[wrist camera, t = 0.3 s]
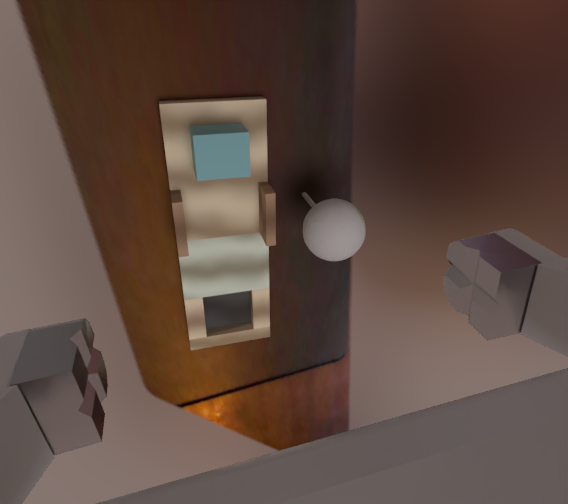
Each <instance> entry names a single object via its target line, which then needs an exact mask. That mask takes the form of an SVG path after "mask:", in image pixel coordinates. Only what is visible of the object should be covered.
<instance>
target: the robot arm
mask: <svg viewBox="0 0 568 504" xmlns="http://www.w3.org/2000/svg"><path fill="white" fill-rule="evenodd" d="M447 259H448V261H449V263H450V264H451V266H450V267H449V269H448V270H447V271H446V273H445V274H444V284H443V287H444V291H445V295H446V298H447V300H448V301H449V303H450V305H451V306H452V307H453V308H454V309H455V310H456V311H458V312H461V313H463V314H466V315H469V324H471V325H472V326H473V327H474V328H475V329H476V330H477V331H478V332H479V333H480V334H481V335H482V336H483V337H484V338H485V339H486V340H492V339H496V338H500V337H505V336H509V335H513V334H518V333H521V335H523V336H525V337H527V338H529V339H531V340H533V341H536V342H538V343H540V344H542V345H544V346H546V347H548V348H550V349H553V350H555V351H557V352H559V353H561V354H563V355H566V356H568V258H562V257H560V256H559V255H557V254H555V253H554V252H552V251H550V250H548V249H547V248H545V247H543V246H542V245H540V244H539V243H537V242H535V241H533V240H532V239H530V238H529V237H526V236H525V235H523V234H522V233H520V232H518V231H517V230H514V229H504V230H500V231H496V232H492V233H489V234H485V235H481V236H477V237H472V238H468V239H464V240H460V241H455V242H451V244H450V246H449V247H448V251H447ZM93 341H94V333H93V330H92V328H91V326H90V323H89V321H88V320H86V319H80V320H75V321H70V322H64V323H59V324H54V325H48V326H43V327H38V328H33V329H27V330H22V331H17V332H13V333H8V334H5V335H3V336H1V337H0V504H22V503H23V502H24V500H25V499H26V497H27V496H28V495H29V493H30V492H31V490H32V489H33V487H34V486H35V485H36V483H37V482H38V481H39V479H40V478H41V476H42V475H43V473H44V472H45V471H46V469H47V468H48V466H49V465H50V464H51V462H52V461H53V459H54V458H55V457H54V455H57V454H61V453H64V452H67V451H71V450H74V449H78V448H81V447H85V446H88V445H92V444H95V443H98V442H102V434H103V426H104V417H105V413H104V411H103V408H102V405H101V403H102V401H103V400H104V399H105V398H106V397H107V386H108V385H107V373H106V368H105V363H104V360H103V357H102V354H101V352H100V351H99V350H97V349H95V348H94V347H93ZM96 504H568V368H567V369H563V370H560V371H556V372H553V373H549V374H546V375H542V376H539V377H535V378H532V379H528V380H525V381H521V382H518V383H514V384H510V385H507V386H503V387H500V388H496V389H493V390H489V391H486V392H483V393H479V394H475V395H472V396H468V397H465V398H461V399H458V400H454V401H451V402H447V403H444V404H440V405H437V406H433V407H430V408H426V409H423V410H419V411H416V412H412V413H409V414H406V415H402V416H399V417H395V418H392V419H388V420H385V421H381V422H378V423H374V424H371V425H368V426H364V427H360V428H357V429H353V430H350V431H347V432H343V433H340V434H336V435H333V436H329V437H326V438H322V439H319V440H315V441H312V442H308V443H305V444H301V445H298V446H295V447H291V448H288V449H284V450H281V451H277V452H274V453H271V454H267V455H263V456H260V457H256V458H253V459H249V460H246V461H243V462H239V463H236V464H232V465H228V466H225V467H222V468H218V469H215V470H211V471H208V472H204V473H201V474H197V475H194V476H190V477H187V478H183V479H180V480H176V481H173V482H169V483H166V484H163V485H159V486H155V487H152V488H148V489H145V490H142V491H138V492H135V493H131V494H128V495H124V496H121V497H117V498H114V499H110V500H107V501H103V502H100V503H96Z"/></svg>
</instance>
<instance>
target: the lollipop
mask: <svg viewBox="0 0 568 504" xmlns="http://www.w3.org/2000/svg"><path fill="white" fill-rule="evenodd" d="M302 196H303V198H304V199H305V200H306V201H307V202H308V204H309V205H310V206H311V207H312V208H311V210H310V211H309V212H308V214H307V215H306V217H305V219H304V223H303V236H304V241H305V243H306V245H307V246H308V248H309V250H310V251H311V252H312V253H314V254H315V255H316V256H318V257H319V258H322V259H324V260H328V261H340V260H344V259H347V258H349V257H351V256H352V255H354V254H355V253H356V252H357V251H358V249H359V248H360V247H361V245H362V243H363V241H364V238H365V232H366V231H365V222H364V219H363V217H362V215H361V213H360V212H359V210H358V209H357V208H356V207H355V206H354V205H352V204H351V203H349V202H347V201H345V200H341V199H328V200H324V201H321V202H319V203H318V204H315V203H314V202H313V200H312V199H311V198H310V197H309V196H308V194H307V193H306V192H303V193H302Z"/></svg>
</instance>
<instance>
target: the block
mask: <svg viewBox="0 0 568 504" xmlns="http://www.w3.org/2000/svg"><path fill="white" fill-rule="evenodd" d="M189 128H190V138H191V148H192V158H193V168H194V172H195V175H196V179H197V181H204V180H216V179H227V178H239V177H250V176H251V171H250V143H249V131H248V130H247V129H246V128H245V126H244V125H243V124H242V123H228V124H211V125H194V126H189Z"/></svg>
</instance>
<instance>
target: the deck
mask: <svg viewBox="0 0 568 504" xmlns="http://www.w3.org/2000/svg"><path fill="white" fill-rule="evenodd" d="M159 108H160V116H161V123H162V131H163V139H164V147H165V154H166V162H167V170H168V178H169V185H170V193H171V201H172V209H173V216H174V224H175V232H176V240H177V247H178V255H179V263H180V271H181V278H182V286H183V294H184V301H185V309H186V317H187V325H188V332H189V340H190V348H191V350H196V349H202V348H207V347H213V346H219V345H225V344H231V343H236V342H242V341H248V340H254V339H259V338H265V337H270V301H269V246H273V245H276V206H275V192H274V190H273V189H272V187H271V186H270V184H269V183H268V174H267V110H266V99H265V98H264V97H263V96H255V97H233V98H210V99H188V100H166V101H159ZM228 123H242V124H243V125H244V126H245V128H246V129H247V130H248V131H249V143H250V171H251V176H250V177H239V178H227V179H216V180H204V181H197V179H196V175H195V172H194V168H193V158H192V148H191V138H190V128H189V126H194V125H211V124H228Z"/></svg>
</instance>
